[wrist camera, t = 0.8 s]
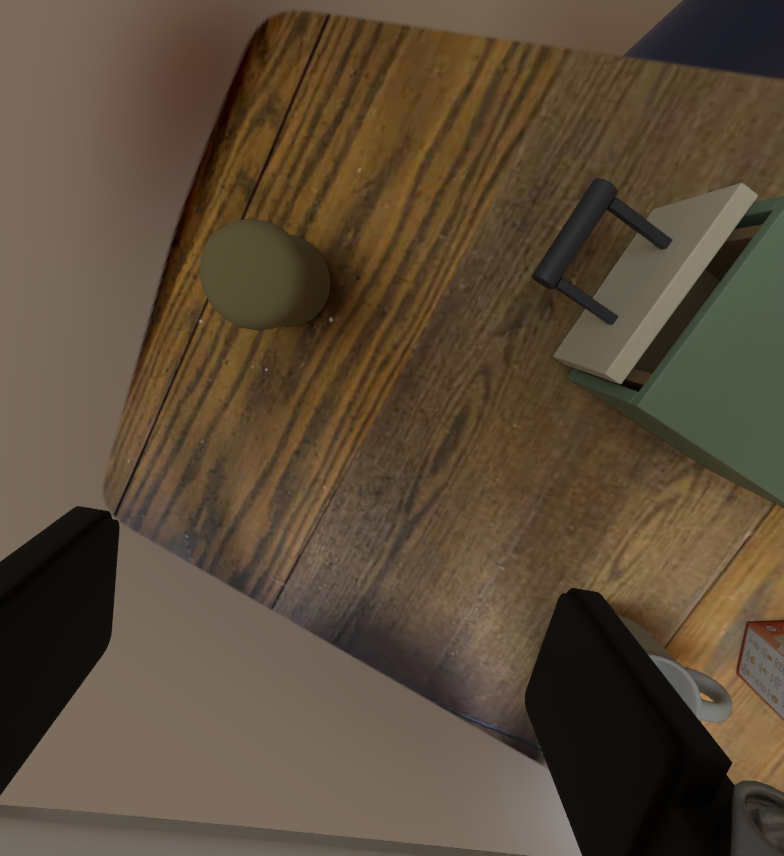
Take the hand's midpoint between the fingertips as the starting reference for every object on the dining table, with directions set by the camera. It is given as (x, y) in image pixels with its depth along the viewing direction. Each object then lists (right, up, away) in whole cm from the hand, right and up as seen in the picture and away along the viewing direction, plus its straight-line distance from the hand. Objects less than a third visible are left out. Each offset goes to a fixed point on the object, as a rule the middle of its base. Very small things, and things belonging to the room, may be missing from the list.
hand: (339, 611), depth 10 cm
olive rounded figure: (-6, +14, +23) cm, 27 cm away
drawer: (+19, +12, +23) cm, 32 cm away
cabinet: (+23, +9, +25) cm, 36 cm away
